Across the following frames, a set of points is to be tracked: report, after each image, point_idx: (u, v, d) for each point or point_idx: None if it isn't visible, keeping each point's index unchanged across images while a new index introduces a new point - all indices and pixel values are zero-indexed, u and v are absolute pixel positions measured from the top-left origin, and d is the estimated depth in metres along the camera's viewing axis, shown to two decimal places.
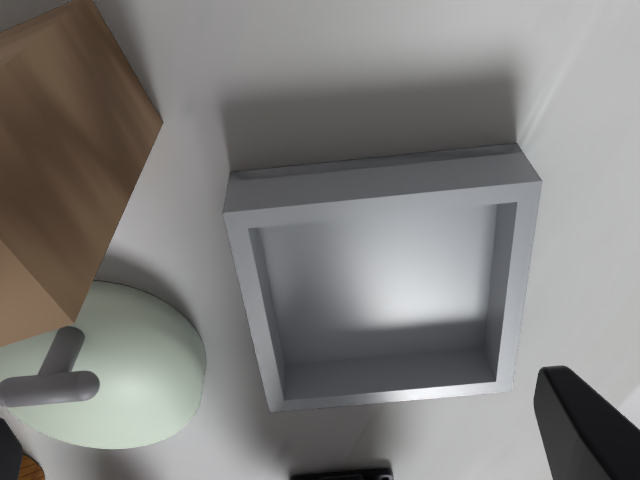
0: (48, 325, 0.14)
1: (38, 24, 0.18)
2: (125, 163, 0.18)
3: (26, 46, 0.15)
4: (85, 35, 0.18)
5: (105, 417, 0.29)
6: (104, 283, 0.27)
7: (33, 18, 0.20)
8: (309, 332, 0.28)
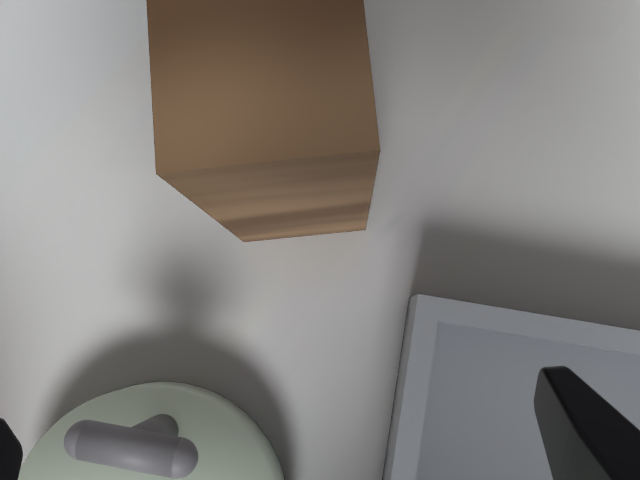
0: (352, 145, 0.13)
1: None
2: None
3: None
4: None
5: None
6: (218, 395, 0.23)
7: None
8: None
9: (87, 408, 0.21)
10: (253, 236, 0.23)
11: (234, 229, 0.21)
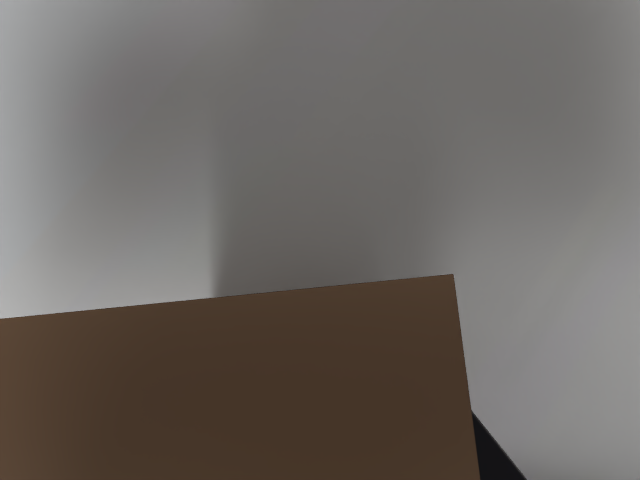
0: None
1: None
2: None
3: None
4: None
5: None
6: None
7: None
8: None
9: None
10: None
11: None
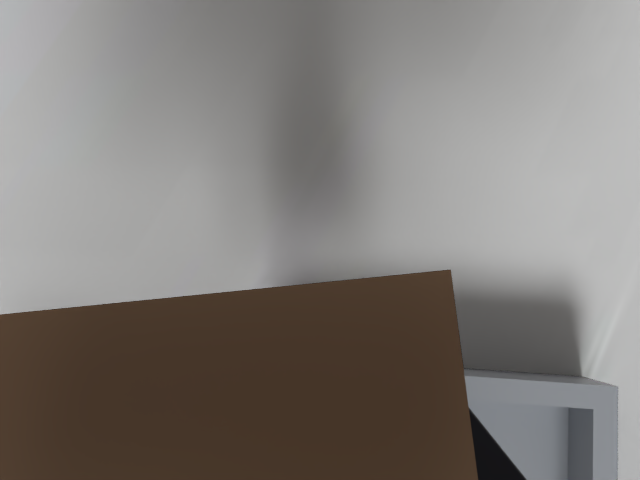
0: None
1: None
2: None
3: None
4: None
5: None
6: None
7: None
8: None
9: None
10: None
11: None
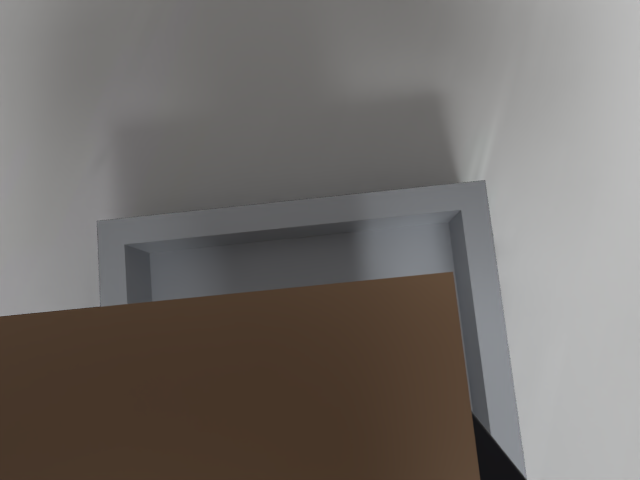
0: None
1: None
2: None
3: None
4: None
5: None
6: None
7: None
8: None
9: None
10: None
11: None
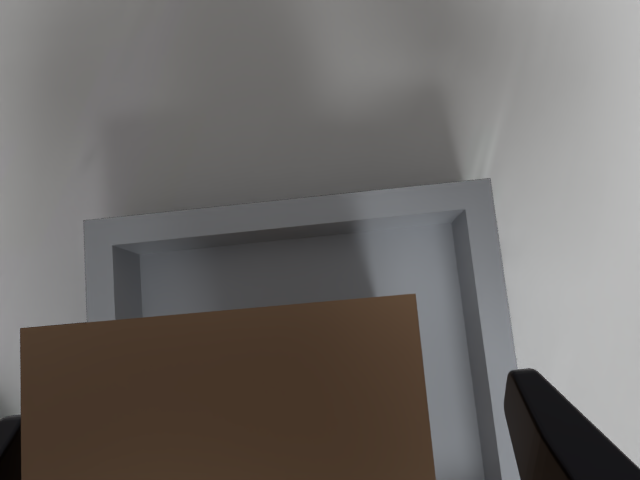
0: None
1: None
2: None
3: None
4: None
5: None
6: None
7: None
8: None
9: None
10: None
11: None
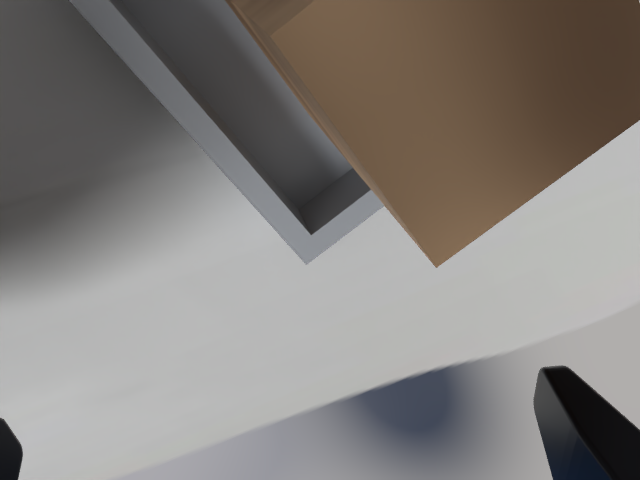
0: (428, 240, 0.10)
1: None
2: None
3: None
4: None
5: None
6: None
7: None
8: None
9: None
10: (231, 7, 0.17)
11: (229, 2, 0.15)
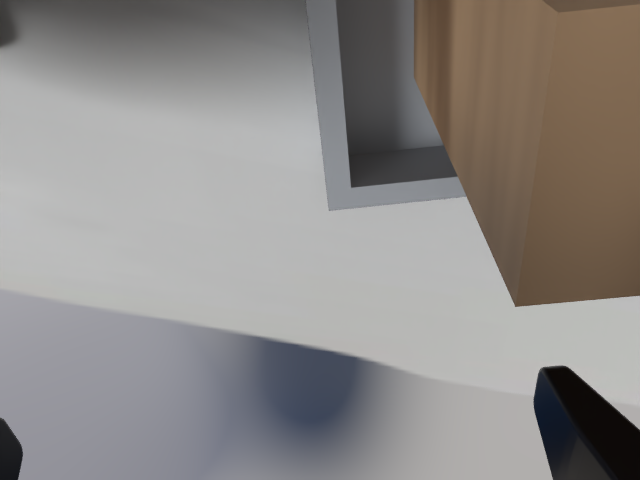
0: (529, 280, 0.10)
1: None
2: None
3: None
4: None
5: None
6: None
7: None
8: None
9: None
10: None
11: None
